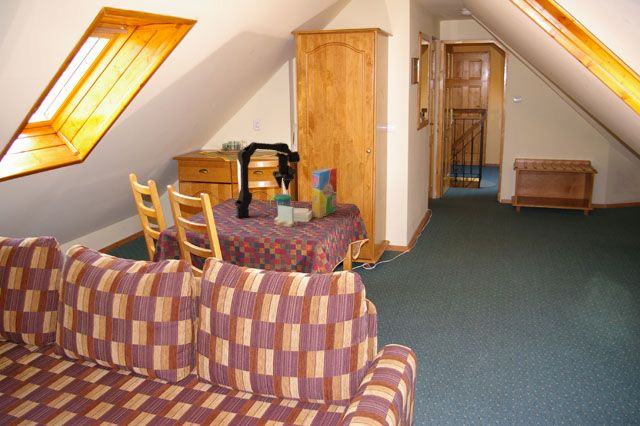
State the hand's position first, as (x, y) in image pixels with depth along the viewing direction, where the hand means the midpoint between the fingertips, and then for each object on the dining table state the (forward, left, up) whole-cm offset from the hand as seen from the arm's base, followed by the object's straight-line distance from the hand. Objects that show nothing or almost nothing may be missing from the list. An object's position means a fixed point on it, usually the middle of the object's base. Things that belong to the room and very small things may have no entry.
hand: (283, 188), depth 352 cm
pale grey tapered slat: (-14, -30, -9) cm, 34 cm away
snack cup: (-1, 0, -15) cm, 15 cm away
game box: (+18, -20, -15) cm, 30 cm away
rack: (-4, -20, -14) cm, 25 cm away
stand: (-14, -30, -14) cm, 36 cm away
